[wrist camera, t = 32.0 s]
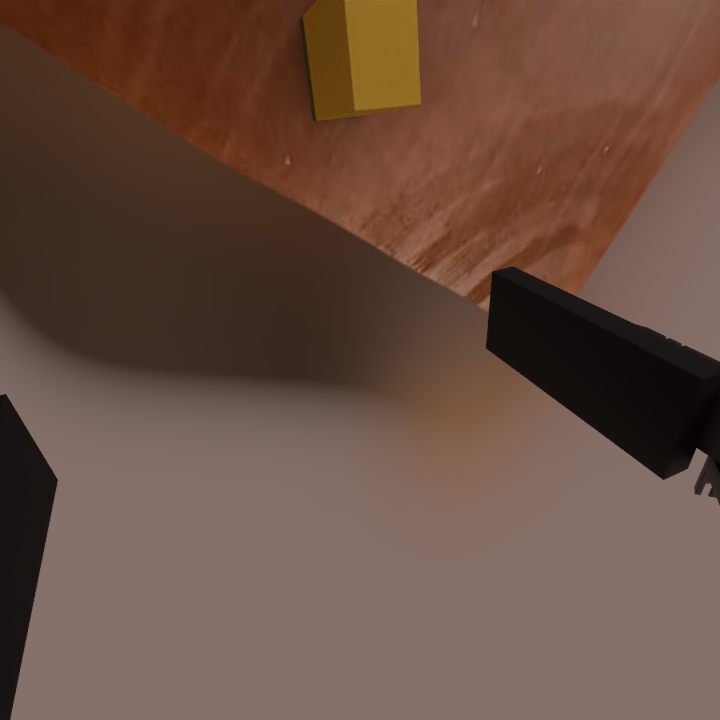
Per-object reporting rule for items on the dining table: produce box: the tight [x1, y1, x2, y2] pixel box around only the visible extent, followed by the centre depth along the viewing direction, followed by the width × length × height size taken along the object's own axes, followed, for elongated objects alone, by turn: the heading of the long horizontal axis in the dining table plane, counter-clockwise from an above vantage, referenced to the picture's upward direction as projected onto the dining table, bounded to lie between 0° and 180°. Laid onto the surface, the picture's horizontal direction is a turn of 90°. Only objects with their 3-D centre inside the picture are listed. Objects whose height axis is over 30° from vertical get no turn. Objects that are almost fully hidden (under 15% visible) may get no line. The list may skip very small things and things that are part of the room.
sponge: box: [300, 0, 421, 121], centre depth 28 cm, size 4×6×9 cm, turn 7°
